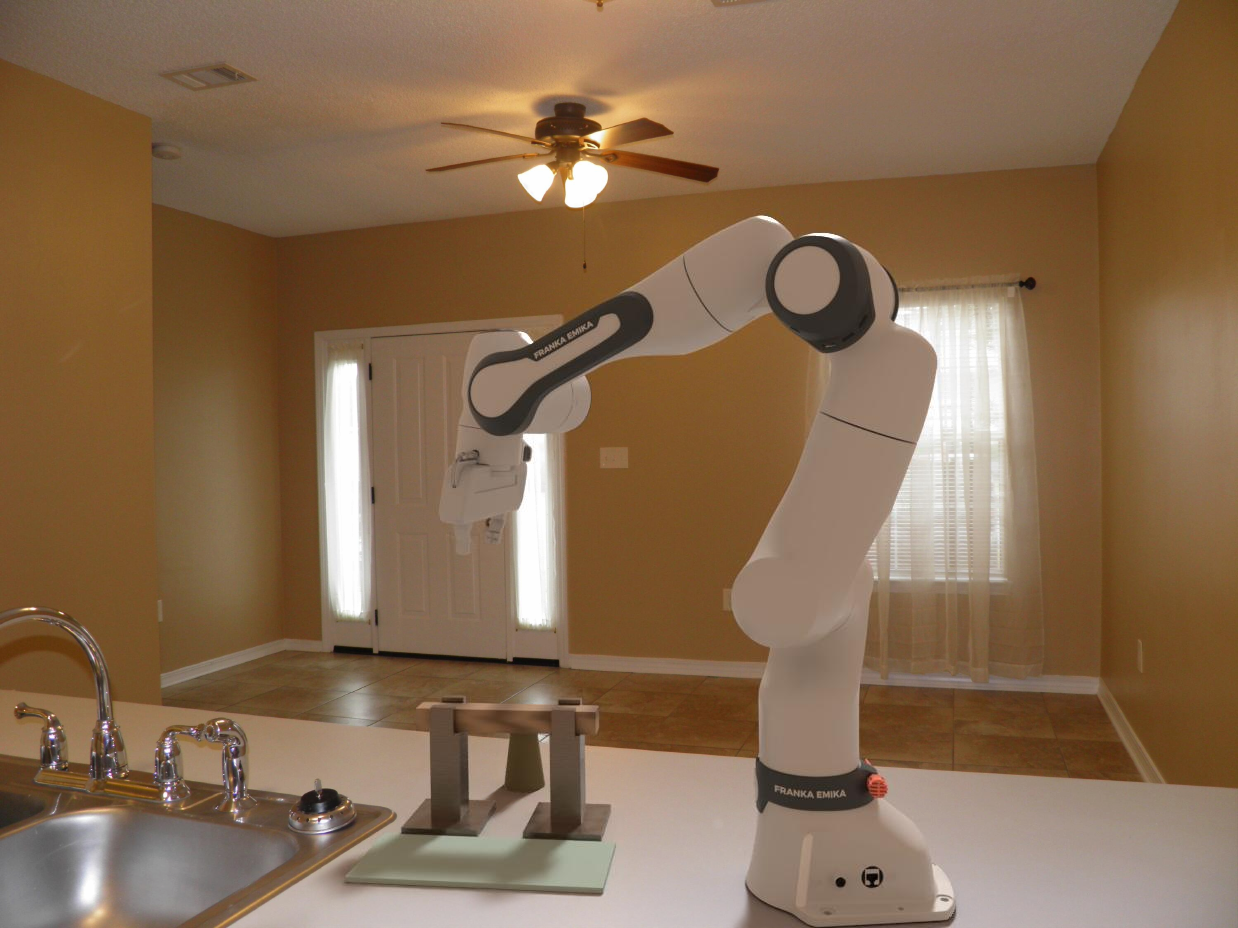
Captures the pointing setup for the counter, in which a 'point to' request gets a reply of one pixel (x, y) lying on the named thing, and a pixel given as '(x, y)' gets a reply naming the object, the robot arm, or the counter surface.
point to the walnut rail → (509, 718)
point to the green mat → (486, 863)
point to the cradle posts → (468, 817)
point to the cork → (524, 763)
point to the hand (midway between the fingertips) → (478, 548)
